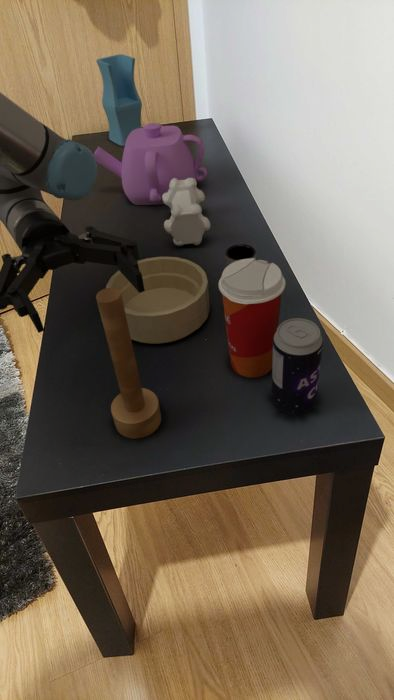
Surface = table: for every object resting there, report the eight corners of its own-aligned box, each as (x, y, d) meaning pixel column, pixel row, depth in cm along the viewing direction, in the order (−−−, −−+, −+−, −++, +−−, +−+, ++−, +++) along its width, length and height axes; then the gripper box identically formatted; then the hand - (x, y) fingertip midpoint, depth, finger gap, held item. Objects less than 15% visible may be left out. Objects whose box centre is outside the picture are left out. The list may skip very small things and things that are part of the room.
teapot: (218, 188, 115) (215, 122, 105) (142, 221, 106) (130, 152, 96) (169, 165, 126) (162, 104, 117) (96, 193, 118) (82, 129, 108)
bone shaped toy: (164, 214, 107) (159, 177, 102) (205, 210, 108) (202, 172, 102) (166, 251, 96) (161, 211, 91) (212, 246, 96) (209, 206, 91)
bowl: (132, 360, 74) (125, 328, 70) (100, 304, 85) (93, 274, 81) (226, 325, 79) (225, 294, 75) (185, 276, 89) (182, 247, 85)
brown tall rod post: (123, 445, 63) (88, 319, 50) (109, 413, 67) (72, 288, 54) (168, 427, 65) (145, 300, 51) (151, 396, 69) (126, 272, 55)
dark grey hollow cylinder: (223, 312, 81) (219, 256, 74) (234, 296, 84) (233, 241, 77) (249, 319, 79) (248, 262, 72) (260, 302, 82) (260, 247, 75)
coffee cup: (239, 337, 76) (237, 250, 66) (291, 353, 73) (296, 264, 63) (212, 372, 71) (204, 284, 61) (265, 392, 68) (267, 301, 58)
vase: (121, 146, 139) (107, 64, 125) (108, 139, 144) (93, 59, 130) (146, 139, 142) (135, 58, 128) (133, 131, 147) (121, 53, 133)
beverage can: (296, 426, 63) (302, 355, 55) (262, 402, 66) (263, 332, 58) (324, 401, 66) (334, 330, 58) (290, 379, 69) (295, 309, 61)
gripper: (119, 230, 84) (182, 291, 69) (-34, 283, 75) (2, 364, 61) (110, 186, 79) (176, 243, 64) (-55, 238, 70) (-21, 316, 56)
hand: (91, 302), depth 63 cm, fingers open, 13 cm apart
